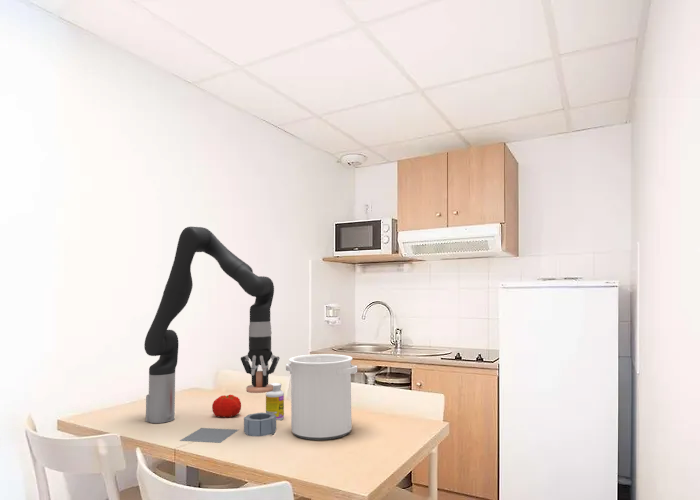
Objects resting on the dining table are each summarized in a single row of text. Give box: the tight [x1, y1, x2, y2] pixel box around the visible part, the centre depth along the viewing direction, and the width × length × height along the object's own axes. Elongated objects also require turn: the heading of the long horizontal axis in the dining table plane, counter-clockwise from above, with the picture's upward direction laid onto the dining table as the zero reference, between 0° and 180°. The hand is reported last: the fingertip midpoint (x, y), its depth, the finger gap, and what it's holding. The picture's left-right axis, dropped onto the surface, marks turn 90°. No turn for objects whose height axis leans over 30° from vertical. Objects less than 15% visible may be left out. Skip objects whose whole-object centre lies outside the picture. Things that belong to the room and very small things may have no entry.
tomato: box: [211, 394, 242, 419], centre depth 184 cm, size 11×11×8 cm
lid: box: [245, 370, 273, 394], centre depth 162 cm, size 9×9×6 cm
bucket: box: [285, 353, 358, 441], centre depth 163 cm, size 26×22×24 cm
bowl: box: [243, 412, 277, 437], centre depth 161 cm, size 10×10×6 cm
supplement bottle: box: [265, 382, 285, 421], centre depth 178 cm, size 7×7×13 cm
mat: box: [179, 427, 239, 444], centre depth 158 cm, size 14×14×1 cm
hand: (260, 386), depth 162 cm, fingers closed on lid, 2 cm apart
